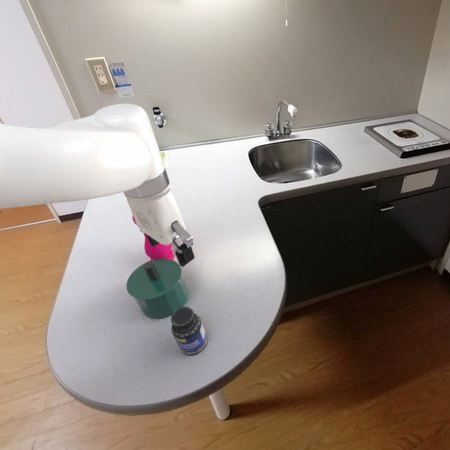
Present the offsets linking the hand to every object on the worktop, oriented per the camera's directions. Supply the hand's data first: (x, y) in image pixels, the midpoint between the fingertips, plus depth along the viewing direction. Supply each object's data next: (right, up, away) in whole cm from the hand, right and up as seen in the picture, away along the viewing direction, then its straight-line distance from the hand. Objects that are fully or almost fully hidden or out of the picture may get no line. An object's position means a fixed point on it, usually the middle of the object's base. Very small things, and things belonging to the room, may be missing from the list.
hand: (172, 252), depth 63 cm
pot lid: (-9, -7, +11) cm, 16 cm away
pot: (-9, -14, +17) cm, 23 cm away
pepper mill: (-15, -4, +28) cm, 32 cm away
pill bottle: (+2, -22, +7) cm, 23 cm away
